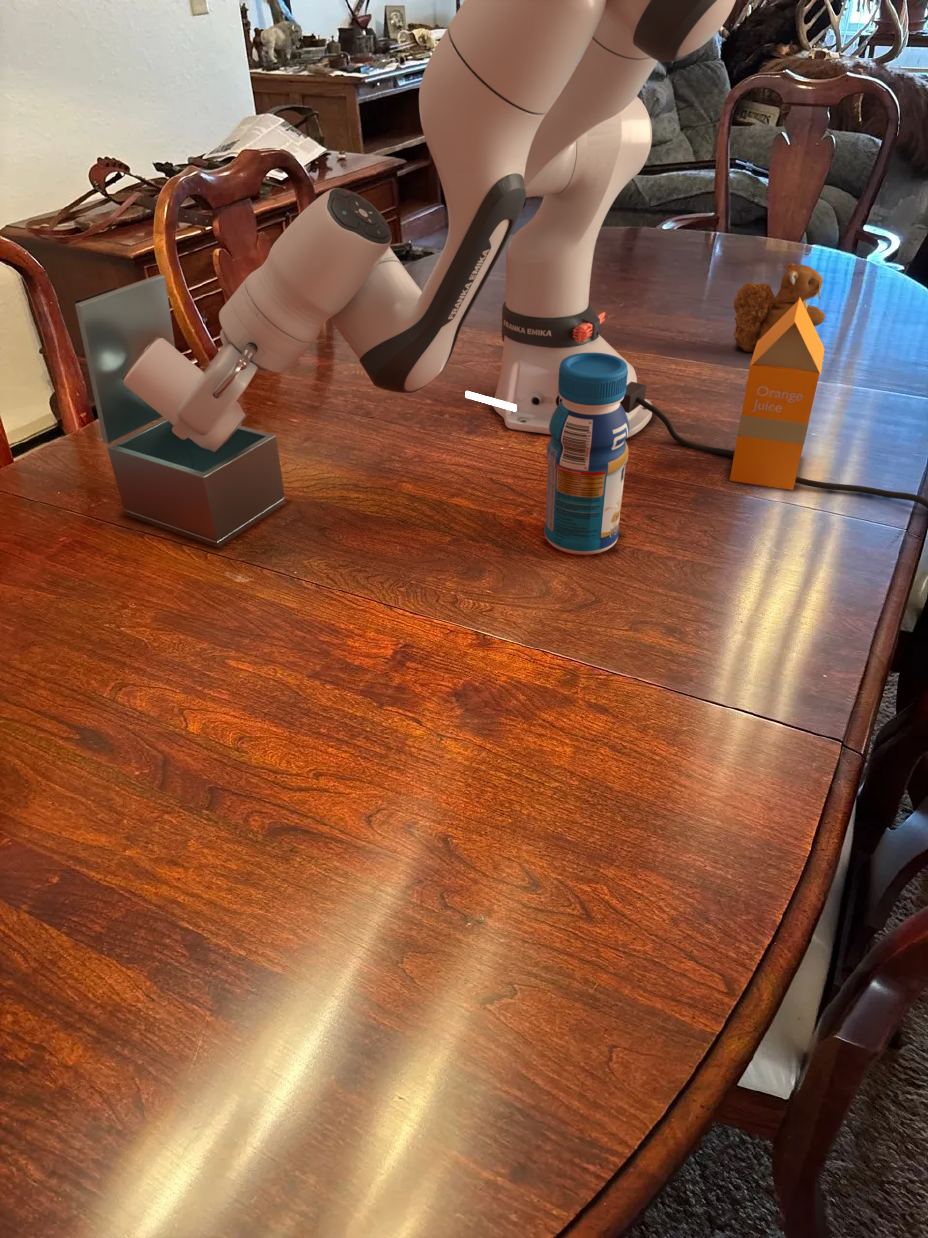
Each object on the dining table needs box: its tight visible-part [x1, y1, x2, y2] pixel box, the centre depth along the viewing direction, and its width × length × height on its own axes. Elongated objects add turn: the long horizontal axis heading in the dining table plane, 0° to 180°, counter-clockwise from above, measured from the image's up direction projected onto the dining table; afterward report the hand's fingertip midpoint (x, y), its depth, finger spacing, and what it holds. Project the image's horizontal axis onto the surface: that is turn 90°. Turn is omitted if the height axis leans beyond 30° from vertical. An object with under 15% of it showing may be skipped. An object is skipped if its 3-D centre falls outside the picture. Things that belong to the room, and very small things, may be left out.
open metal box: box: [106, 417, 287, 549], centre depth 106 cm, size 15×12×9 cm
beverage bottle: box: [544, 353, 629, 556], centre depth 96 cm, size 8×8×20 cm
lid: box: [74, 273, 176, 444], centre depth 102 cm, size 16×12×5 cm
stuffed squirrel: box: [733, 262, 826, 353], centre depth 143 cm, size 10×14×13 cm
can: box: [123, 337, 248, 454], centre depth 100 cm, size 6×6×12 cm
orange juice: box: [729, 298, 826, 491], centre depth 109 cm, size 8×9×20 cm
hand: (189, 417), depth 101 cm, fingers closed on can, 6 cm apart
